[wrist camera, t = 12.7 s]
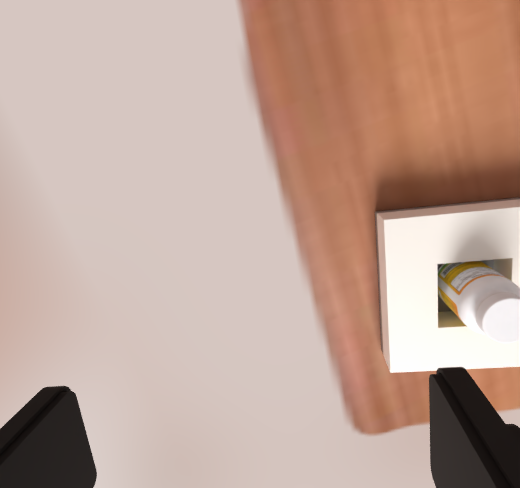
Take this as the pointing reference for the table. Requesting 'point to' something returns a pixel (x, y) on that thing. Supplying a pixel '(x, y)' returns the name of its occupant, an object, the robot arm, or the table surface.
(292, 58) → the table surface
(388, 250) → the socket block
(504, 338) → the supplement bottle
